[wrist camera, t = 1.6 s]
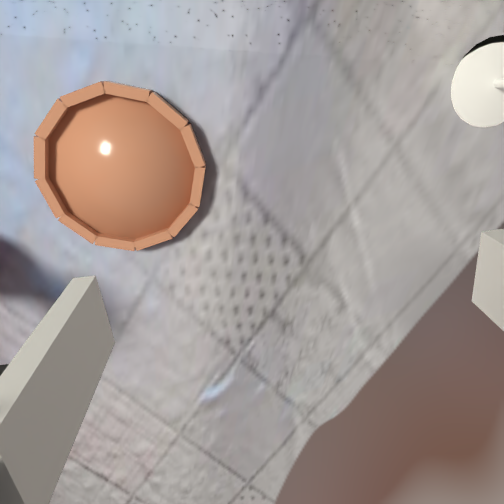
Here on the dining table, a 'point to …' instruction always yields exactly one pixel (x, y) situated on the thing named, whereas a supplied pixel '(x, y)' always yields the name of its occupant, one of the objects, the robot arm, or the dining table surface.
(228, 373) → the dining table surface
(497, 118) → the wineglass
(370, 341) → the dining table surface
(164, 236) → the terracotta saucer
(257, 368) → the dining table surface
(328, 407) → the dining table surface
